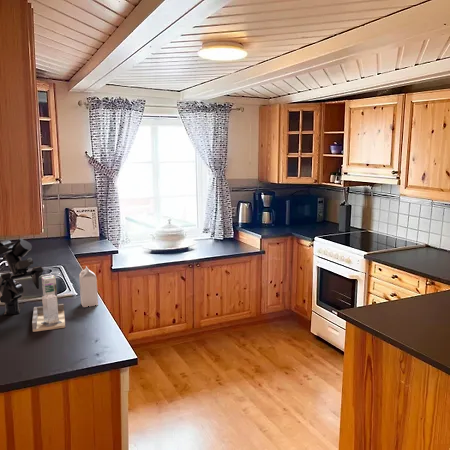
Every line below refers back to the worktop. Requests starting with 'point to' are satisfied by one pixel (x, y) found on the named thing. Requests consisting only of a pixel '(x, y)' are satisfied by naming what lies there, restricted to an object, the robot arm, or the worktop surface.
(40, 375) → the worktop surface
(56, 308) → the aluminium post
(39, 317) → the corner arena
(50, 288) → the syrup box
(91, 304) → the milk carton
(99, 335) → the worktop surface
